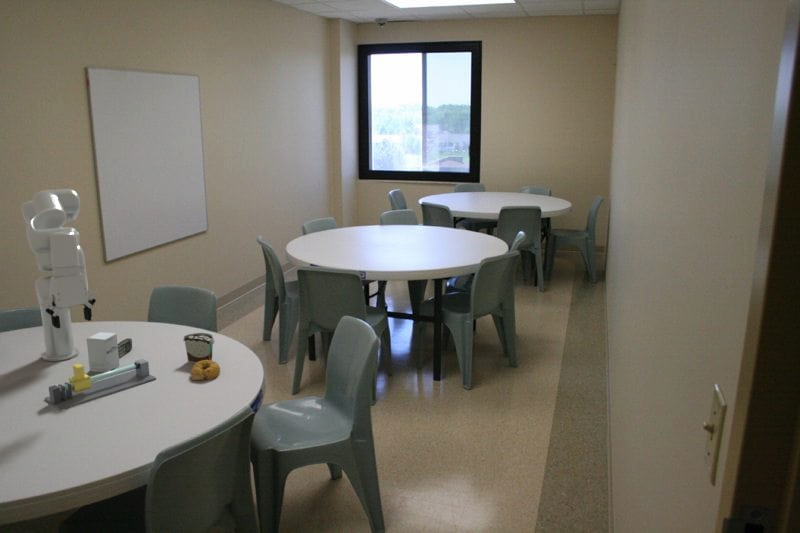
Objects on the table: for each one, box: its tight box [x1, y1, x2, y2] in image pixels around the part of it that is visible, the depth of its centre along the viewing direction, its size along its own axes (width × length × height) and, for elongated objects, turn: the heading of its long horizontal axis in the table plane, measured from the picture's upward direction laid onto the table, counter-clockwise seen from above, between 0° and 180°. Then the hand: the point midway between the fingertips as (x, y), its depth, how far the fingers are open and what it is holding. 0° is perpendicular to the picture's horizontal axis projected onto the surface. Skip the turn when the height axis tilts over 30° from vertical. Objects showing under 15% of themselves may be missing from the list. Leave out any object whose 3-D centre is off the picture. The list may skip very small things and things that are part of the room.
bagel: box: [189, 360, 221, 381], centre depth 226 cm, size 10×11×5 cm
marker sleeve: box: [68, 363, 92, 393], centre depth 207 cm, size 4×5×8 cm
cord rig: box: [44, 358, 157, 411], centre depth 214 cm, size 12×32×6 cm, turn 140°
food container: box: [183, 332, 215, 364], centre depth 239 cm, size 12×6×10 cm, turn 71°
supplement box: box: [86, 331, 120, 373], centre depth 230 cm, size 7×7×13 cm
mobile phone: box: [117, 338, 133, 359], centre depth 245 cm, size 5×3×15 cm
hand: (72, 323), depth 202 cm, fingers open, 9 cm apart
